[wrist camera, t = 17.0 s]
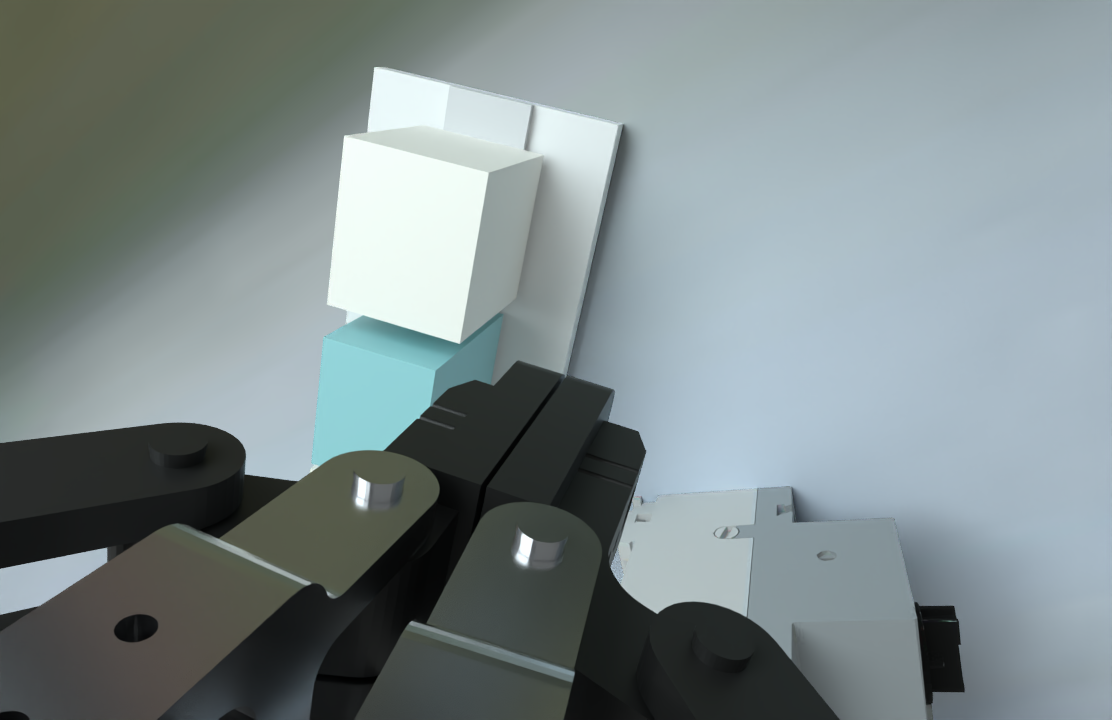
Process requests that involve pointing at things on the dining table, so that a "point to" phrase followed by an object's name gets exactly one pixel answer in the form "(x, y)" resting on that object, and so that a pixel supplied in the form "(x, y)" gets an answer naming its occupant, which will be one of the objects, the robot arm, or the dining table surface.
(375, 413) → the block
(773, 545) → the circuit breaker
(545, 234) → the rail panel
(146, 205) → the dining table surface
